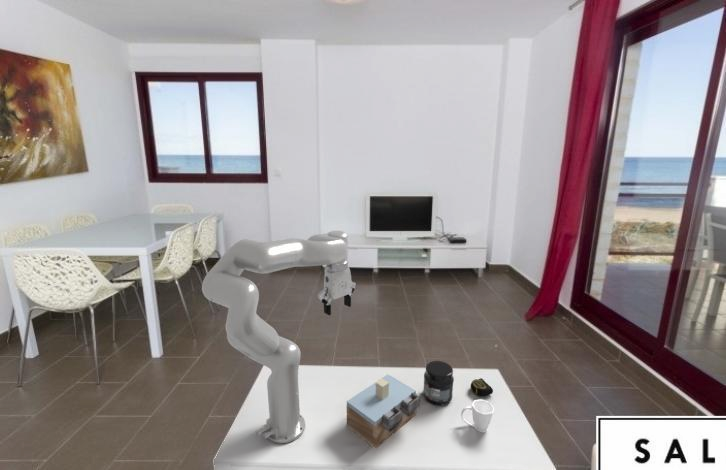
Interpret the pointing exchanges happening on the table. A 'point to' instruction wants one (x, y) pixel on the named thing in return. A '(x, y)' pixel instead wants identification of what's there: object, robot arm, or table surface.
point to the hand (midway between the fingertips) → (337, 309)
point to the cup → (480, 414)
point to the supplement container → (438, 383)
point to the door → (381, 399)
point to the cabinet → (382, 422)
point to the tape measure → (481, 388)
